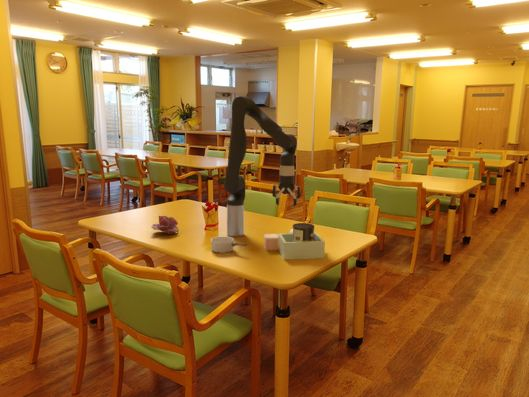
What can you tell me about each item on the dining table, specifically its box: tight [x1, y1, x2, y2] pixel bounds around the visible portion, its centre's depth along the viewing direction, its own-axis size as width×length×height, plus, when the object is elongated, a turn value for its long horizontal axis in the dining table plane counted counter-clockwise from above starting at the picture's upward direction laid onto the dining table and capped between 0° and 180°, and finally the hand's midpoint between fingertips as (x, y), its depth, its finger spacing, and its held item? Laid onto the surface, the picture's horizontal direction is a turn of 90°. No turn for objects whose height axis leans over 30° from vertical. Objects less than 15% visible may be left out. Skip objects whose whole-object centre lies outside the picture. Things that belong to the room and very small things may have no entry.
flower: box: [151, 215, 179, 235], centre depth 231 cm, size 15×15×10 cm
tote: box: [277, 232, 326, 260], centre depth 198 cm, size 19×15×8 cm
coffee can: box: [292, 222, 315, 242], centre depth 197 cm, size 10×10×14 cm
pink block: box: [263, 233, 279, 252], centre depth 206 cm, size 6×6×7 cm
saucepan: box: [210, 235, 248, 254], centre depth 200 cm, size 12×20×6 cm, turn 57°
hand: (286, 205), depth 212 cm, fingers open, 8 cm apart
